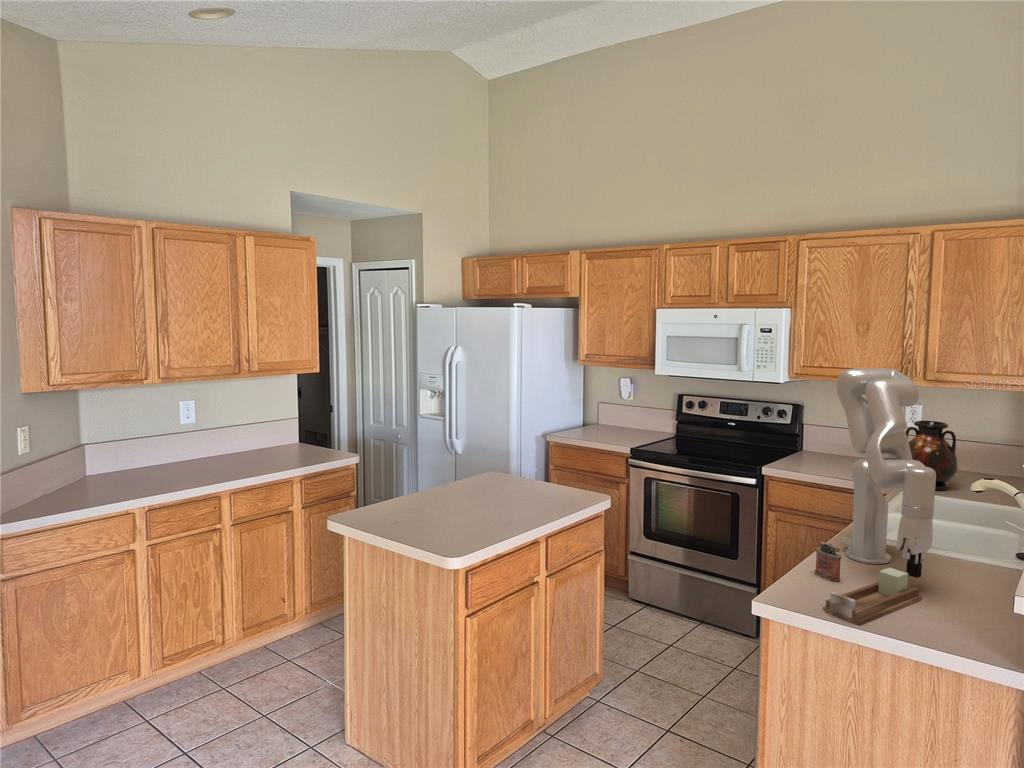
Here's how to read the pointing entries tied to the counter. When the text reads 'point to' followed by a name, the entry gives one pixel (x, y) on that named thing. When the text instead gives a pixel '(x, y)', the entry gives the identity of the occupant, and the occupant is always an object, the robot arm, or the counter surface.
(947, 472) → the amphora vase
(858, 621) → the chute
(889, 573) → the block
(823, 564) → the lighter
